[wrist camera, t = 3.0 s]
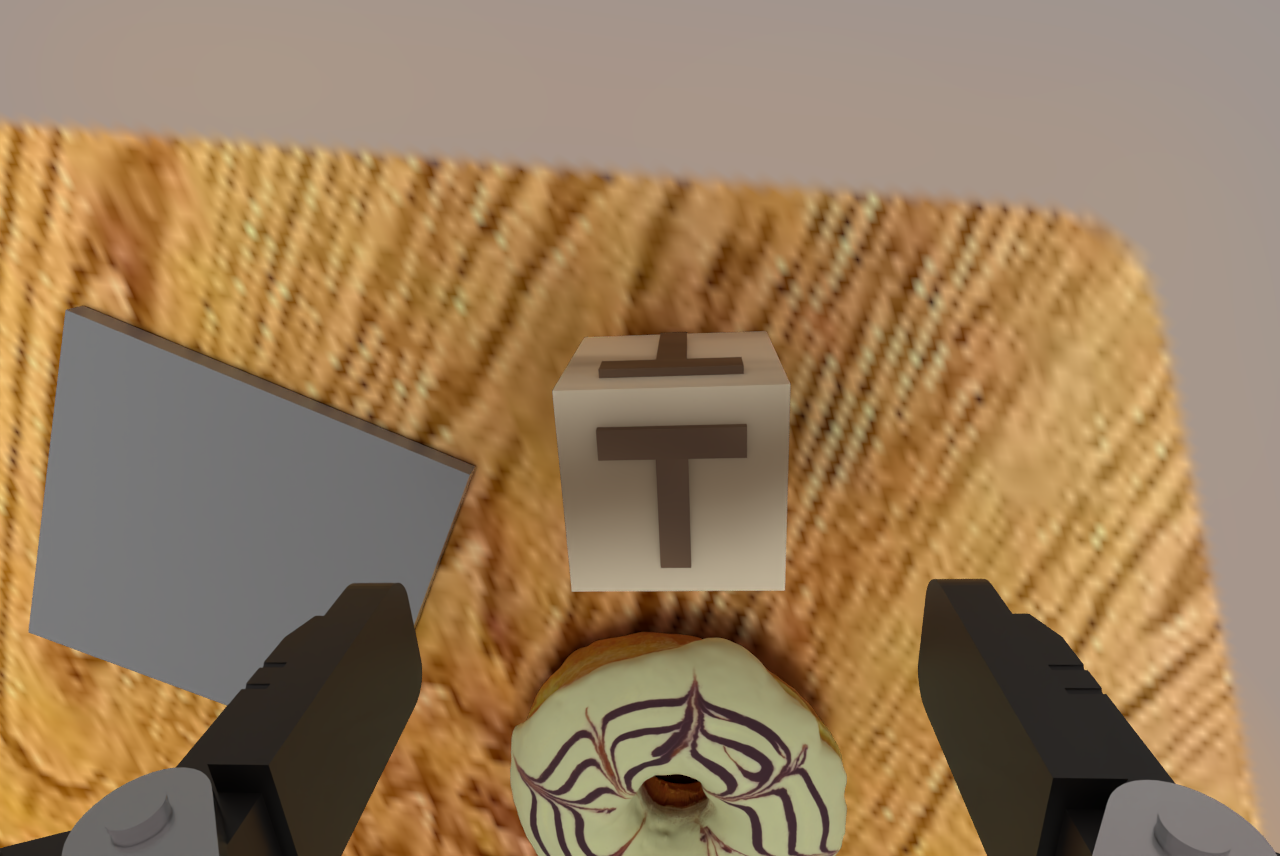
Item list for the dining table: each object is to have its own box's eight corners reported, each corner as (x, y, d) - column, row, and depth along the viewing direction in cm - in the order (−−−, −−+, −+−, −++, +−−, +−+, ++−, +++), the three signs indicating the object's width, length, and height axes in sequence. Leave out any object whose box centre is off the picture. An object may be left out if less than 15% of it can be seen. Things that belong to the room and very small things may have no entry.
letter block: (763, 494, 21) (786, 595, 16) (597, 497, 21) (570, 595, 16) (765, 323, 19) (791, 377, 14) (584, 329, 20) (549, 384, 15)
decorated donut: (724, 554, 22) (732, 628, 18) (885, 781, 25) (918, 883, 21) (469, 693, 24) (432, 781, 21) (640, 884, 27) (633, 990, 24)
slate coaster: (372, 743, 25) (365, 756, 25) (43, 621, 24) (28, 632, 24) (475, 466, 21) (469, 474, 21) (82, 305, 20) (66, 309, 20)
